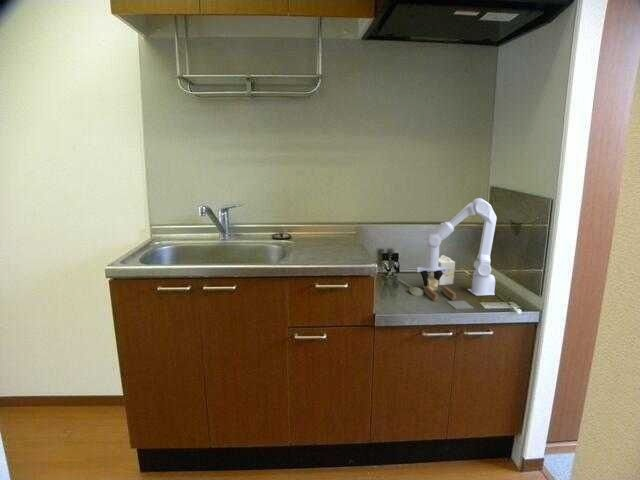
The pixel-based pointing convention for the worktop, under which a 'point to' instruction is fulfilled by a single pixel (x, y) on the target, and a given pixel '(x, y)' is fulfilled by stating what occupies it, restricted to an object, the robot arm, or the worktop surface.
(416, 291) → the soupspoon
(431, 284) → the maple block
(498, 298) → the worktop surface
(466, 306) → the gray mat
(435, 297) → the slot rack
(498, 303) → the worktop surface
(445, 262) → the ink box
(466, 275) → the worktop surface
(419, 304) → the worktop surface
